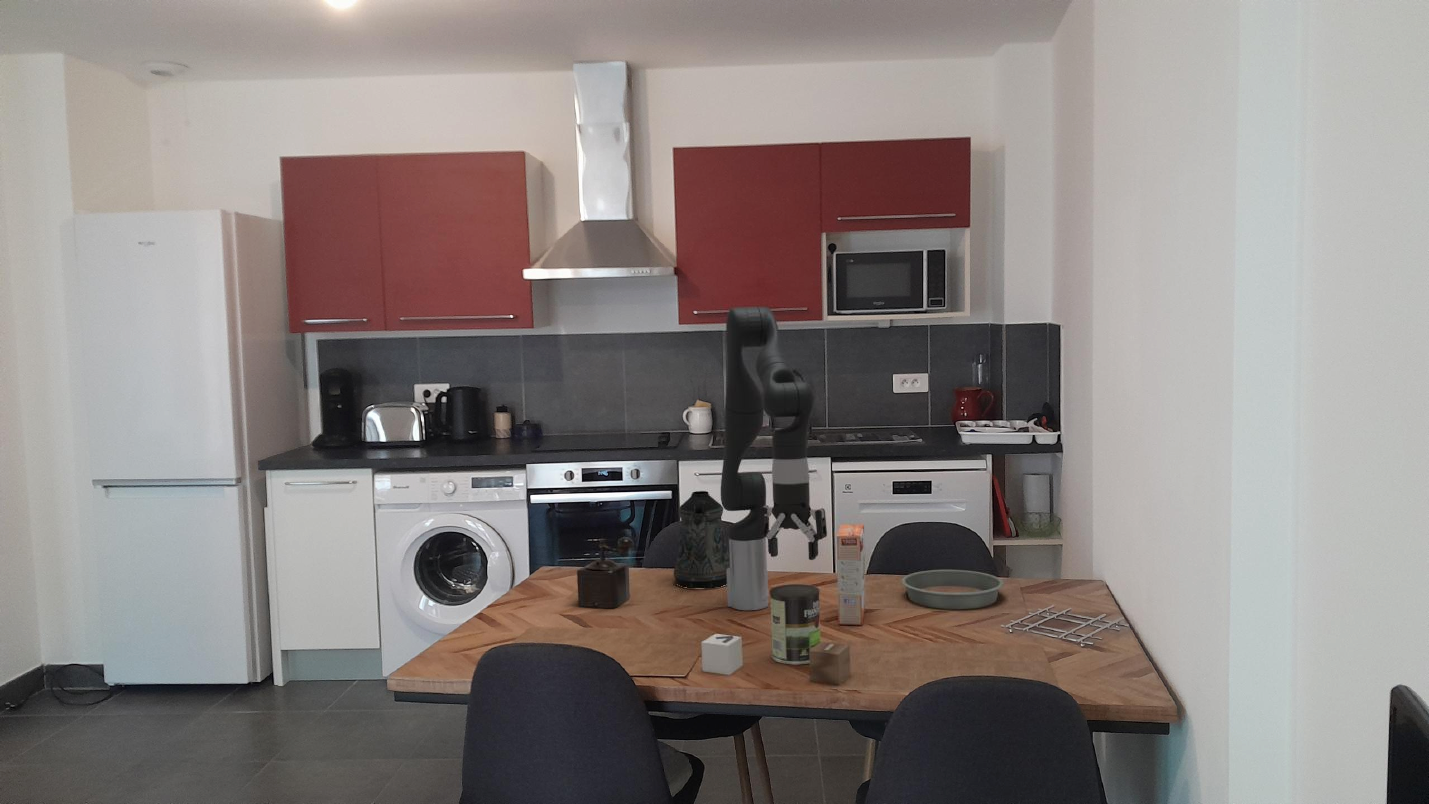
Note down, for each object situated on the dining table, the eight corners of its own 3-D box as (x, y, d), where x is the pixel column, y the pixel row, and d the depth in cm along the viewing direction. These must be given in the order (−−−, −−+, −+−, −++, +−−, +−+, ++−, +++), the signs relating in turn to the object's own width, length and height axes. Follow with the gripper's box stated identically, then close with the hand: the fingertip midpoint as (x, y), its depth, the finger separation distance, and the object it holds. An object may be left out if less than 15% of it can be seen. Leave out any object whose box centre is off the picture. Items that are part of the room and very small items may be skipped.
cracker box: (864, 626, 222) (861, 535, 220) (837, 625, 223) (834, 535, 222) (867, 609, 235) (864, 523, 234) (842, 608, 237) (839, 523, 235)
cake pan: (1024, 598, 240) (1024, 580, 240) (956, 618, 226) (956, 598, 226) (948, 580, 260) (947, 564, 260) (881, 597, 246) (881, 579, 246)
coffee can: (829, 652, 204) (827, 586, 203) (807, 667, 195) (805, 598, 194) (786, 646, 209) (783, 581, 209) (762, 660, 201) (760, 593, 200)
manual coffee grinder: (575, 607, 246) (572, 537, 245) (594, 596, 257) (591, 528, 256) (632, 611, 241) (629, 539, 240) (649, 599, 252) (646, 530, 251)
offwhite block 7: (702, 671, 196) (701, 641, 195) (716, 662, 201) (715, 632, 201) (729, 675, 193) (728, 644, 193) (742, 665, 198) (741, 635, 198)
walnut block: (810, 681, 188) (809, 649, 188) (821, 671, 193) (820, 640, 193) (839, 685, 185) (838, 653, 185) (850, 675, 191) (849, 644, 190)
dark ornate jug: (719, 572, 278) (716, 485, 276) (749, 586, 260) (745, 494, 259) (665, 579, 271) (661, 490, 270) (691, 595, 254) (688, 500, 252)
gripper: (751, 481, 200) (754, 559, 201) (816, 483, 193) (818, 564, 194) (766, 476, 207) (769, 551, 208) (829, 478, 200) (832, 556, 201)
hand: (793, 557), depth 201 cm, fingers open, 8 cm apart
